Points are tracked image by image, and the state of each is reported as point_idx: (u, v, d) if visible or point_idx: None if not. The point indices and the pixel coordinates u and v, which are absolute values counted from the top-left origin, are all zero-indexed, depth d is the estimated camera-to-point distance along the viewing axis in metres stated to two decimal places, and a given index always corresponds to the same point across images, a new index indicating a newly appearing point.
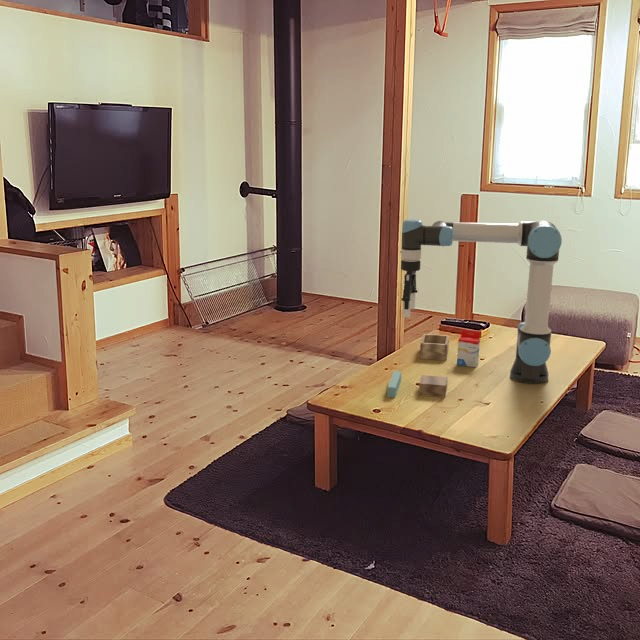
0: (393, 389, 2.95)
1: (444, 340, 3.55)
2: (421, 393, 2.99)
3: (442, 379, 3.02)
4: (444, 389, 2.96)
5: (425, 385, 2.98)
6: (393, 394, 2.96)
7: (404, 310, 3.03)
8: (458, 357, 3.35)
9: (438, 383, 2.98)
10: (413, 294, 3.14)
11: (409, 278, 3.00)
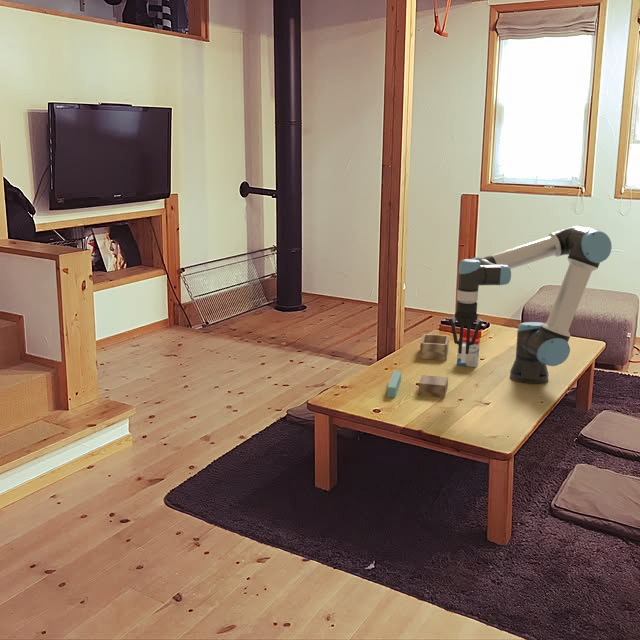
0: (393, 389, 2.95)
1: (444, 340, 3.55)
2: (420, 393, 2.99)
3: (442, 379, 3.02)
4: (443, 389, 2.96)
5: (424, 385, 2.98)
6: (393, 394, 2.96)
7: None
8: (458, 357, 3.35)
9: (437, 383, 2.98)
10: None
11: None
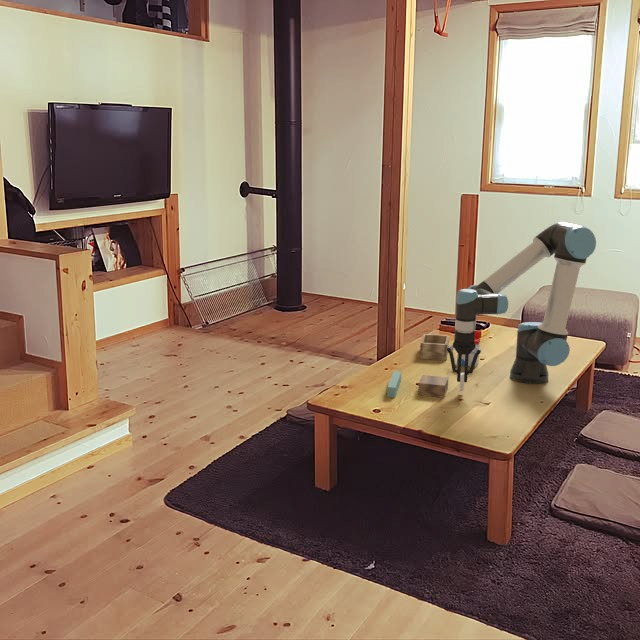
0: (393, 389, 2.95)
1: (444, 340, 3.55)
2: (420, 393, 2.99)
3: (442, 379, 3.02)
4: (443, 389, 2.96)
5: (424, 385, 2.98)
6: (393, 394, 2.96)
7: None
8: None
9: (437, 383, 2.98)
10: (462, 375, 2.98)
11: None
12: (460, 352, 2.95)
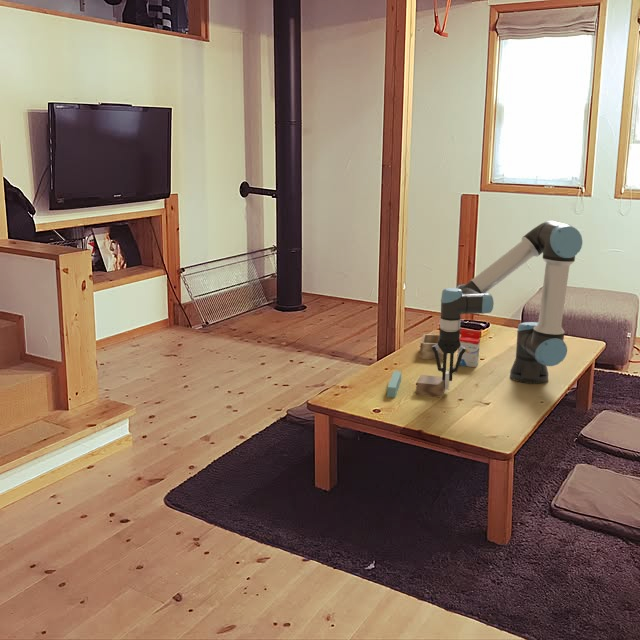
0: (393, 389, 2.95)
1: None
2: (418, 393, 2.99)
3: (441, 379, 3.02)
4: (441, 389, 2.96)
5: (422, 385, 2.98)
6: (393, 394, 2.96)
7: None
8: None
9: (435, 383, 2.98)
10: None
11: None
12: (445, 351, 2.96)
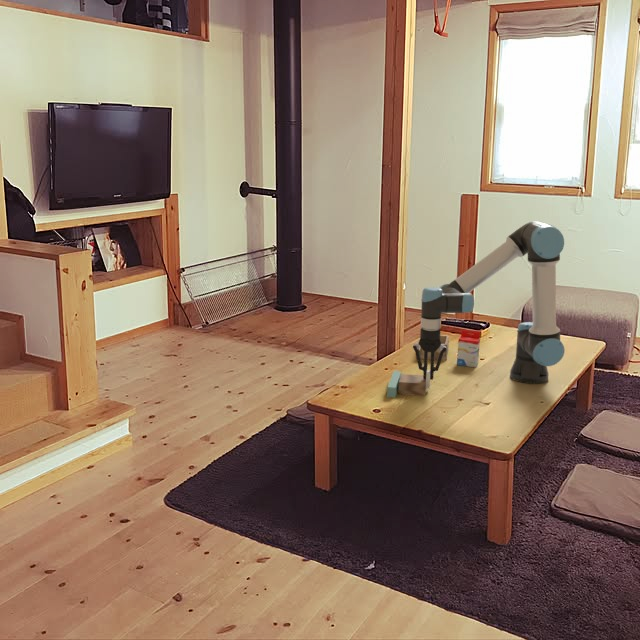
0: (393, 389, 2.95)
1: (444, 340, 3.55)
2: (400, 392, 3.00)
3: (422, 378, 3.04)
4: (423, 387, 2.98)
5: (404, 384, 2.99)
6: (393, 394, 2.96)
7: None
8: (458, 357, 3.35)
9: (417, 382, 2.99)
10: None
11: None
12: (426, 350, 2.98)
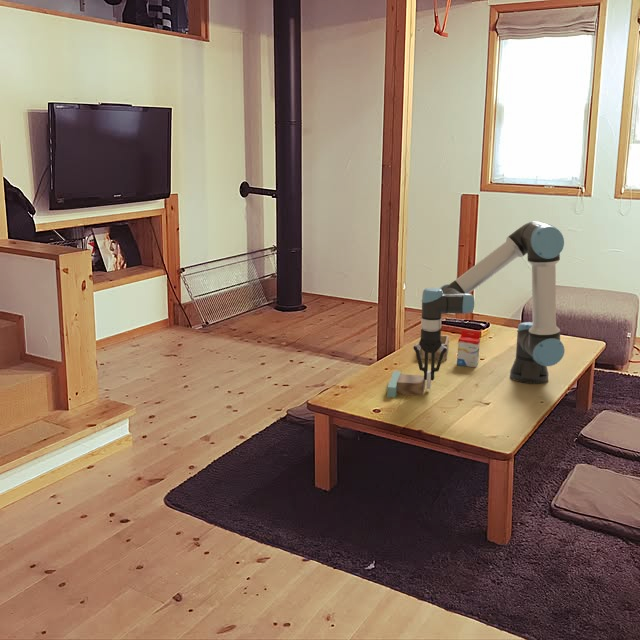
0: (393, 389, 2.95)
1: (444, 340, 3.55)
2: (398, 392, 3.00)
3: (420, 378, 3.04)
4: (421, 387, 2.98)
5: (402, 384, 2.99)
6: (393, 394, 2.96)
7: None
8: (458, 357, 3.35)
9: (415, 382, 2.99)
10: (428, 373, 3.01)
11: None
12: (426, 350, 2.98)
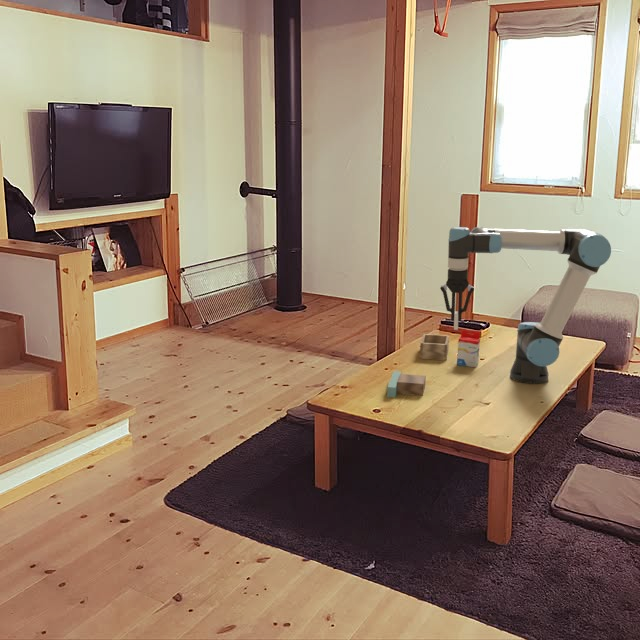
0: (393, 389, 2.95)
1: (444, 340, 3.55)
2: (399, 392, 3.00)
3: (420, 378, 3.04)
4: (422, 387, 2.98)
5: (402, 384, 2.99)
6: (393, 394, 2.96)
7: None
8: (458, 357, 3.35)
9: (415, 382, 2.99)
10: None
11: None
12: (454, 290, 2.97)
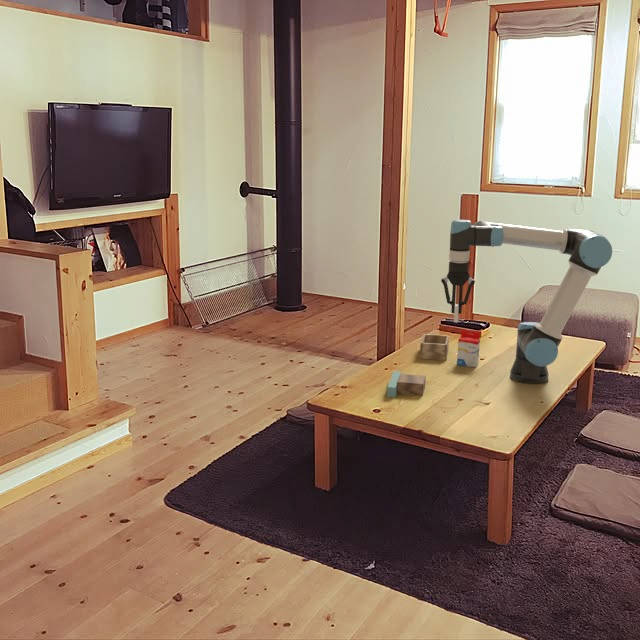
0: (393, 389, 2.95)
1: (444, 340, 3.55)
2: (398, 392, 3.00)
3: (420, 378, 3.04)
4: (421, 387, 2.98)
5: (402, 384, 2.99)
6: (393, 394, 2.96)
7: None
8: (458, 357, 3.35)
9: (415, 382, 2.99)
10: None
11: (442, 282, 2.99)
12: (454, 283, 2.97)
